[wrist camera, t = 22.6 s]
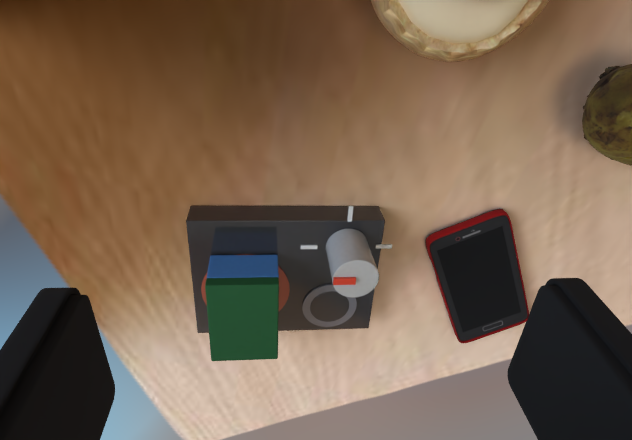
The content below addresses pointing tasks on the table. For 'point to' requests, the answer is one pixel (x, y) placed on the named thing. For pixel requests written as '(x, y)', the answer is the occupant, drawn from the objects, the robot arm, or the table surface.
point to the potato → (611, 114)
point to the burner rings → (314, 302)
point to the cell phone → (479, 275)
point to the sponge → (243, 306)
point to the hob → (282, 250)
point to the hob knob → (351, 263)
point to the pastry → (456, 25)
